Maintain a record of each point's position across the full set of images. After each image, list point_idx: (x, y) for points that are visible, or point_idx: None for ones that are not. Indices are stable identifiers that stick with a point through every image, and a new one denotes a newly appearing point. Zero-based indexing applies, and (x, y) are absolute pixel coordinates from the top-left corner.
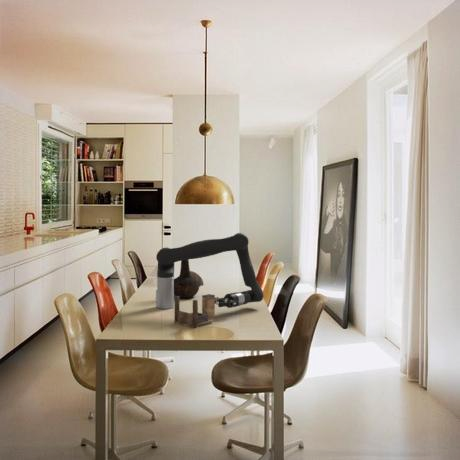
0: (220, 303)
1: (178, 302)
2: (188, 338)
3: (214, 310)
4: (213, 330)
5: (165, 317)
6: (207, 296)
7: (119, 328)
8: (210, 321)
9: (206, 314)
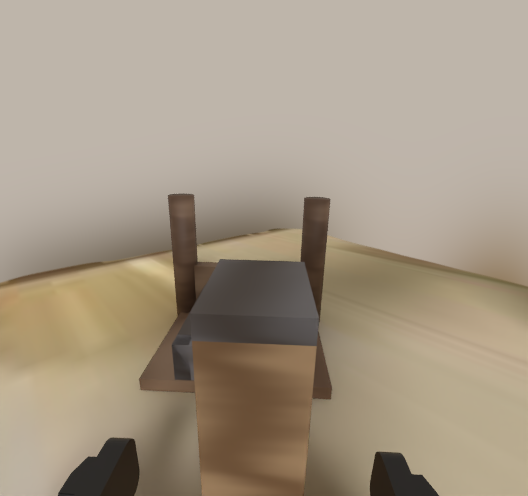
0: (99, 458)
1: (303, 226)
2: (141, 262)
3: (201, 487)
4: (85, 322)
5: (445, 344)
6: (222, 259)
7: (348, 248)
8: (149, 377)
9: (186, 345)
